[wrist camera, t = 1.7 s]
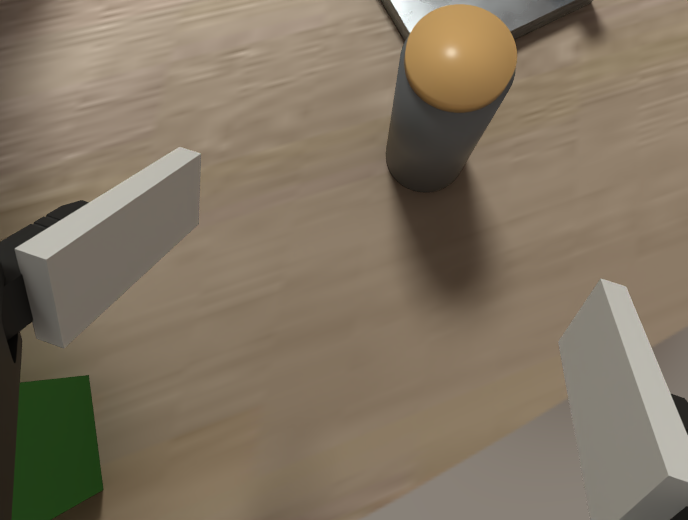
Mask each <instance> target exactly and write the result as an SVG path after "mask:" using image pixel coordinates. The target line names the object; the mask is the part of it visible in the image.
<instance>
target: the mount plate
mask: <svg viewBox="0 0 688 520" xmlns="http://www.w3.org/2000/svg"><path fill="white" fill-rule="evenodd" d="M381 1H382V3H383V5H384V6H385V8H386V10H387V11H388V13H389V15H390V17H391V18H392V20H393V22H394V23H395V25H396V27H397V28H398V30H399V32H400V34H401V35H402V37H403V39H404V40H405V41H406V39H407V37H408V36H409V34H410V33H411V31H412V29H413V28H414V26H415V25H416V24H417V22H418V21H419V20H420V19H421V18H422V17H424V16H425V15H426V14H428V13H429V12H431V11H433V10H435V9H438V8H440V7H443V6H447V5H454V4H465V5H472V6H477V7H480V8H483V9H485V10H487V11H489V12H491V13H492V14H494V15H495V16H497V17H498V18H499V19H500V20H501V21H502V22H503V23H504V24H505V25H506V26H507V27H508V29H509V30H510V32H511V34H512V36H513V38H514V39H516V38H518V37H520V36H522V35H525V34H527V33H529V32H531V31H533V30H535V29H537V28H539V27H541V26H543V25H545V24H547V23H550V22H552V21H554V20H556V19H558V18H560V17H562V16H564V15H566V14H568V13H570V12H572V11H574V10H577V9H579V8H581V7H583V6H585V5H587V4H589V3H591V2H592V1H593V0H381Z"/></svg>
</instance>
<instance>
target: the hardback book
mask: <svg viewBox="0 0 688 520" xmlns="http://www.w3.org/2000/svg"><path fill="white" fill-rule="evenodd" d="M102 490H103V483H102V476H101V468H100V460H99V452H98V444H97V436H96V429H95V421H94V413H93V405H92V397H91V389H90V382H89V375H86V376H77V377H68V378H58V379H49V380H40V381H31V382H22V383H20V386H19V403H18V419H17V436H16V453H15V469H14V486H13V503H12V519H11V520H51V519H53V518H54V517H56V516H58V515H60V514H61V513H63V512H65V511H67V510H69V509H70V508H72V507H74V506H76V505H77V504H79V503H81V502H83V501H84V500H86V499H88V498H90V497H91V496H93V495H95V494H97V493H98V492H100V491H102Z"/></svg>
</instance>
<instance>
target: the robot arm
mask: <svg viewBox="0 0 688 520" xmlns="http://www.w3.org/2000/svg"><path fill="white" fill-rule="evenodd" d="M200 167H201V153H198V152H194V151H191V150H188V149H185V148H182V147H178V148H177V149H175V150H174V151H172V152H170V153H169V154H167V155H165V156H164V157H162V158H161V159H159V160H157V161H156V162H154V163H153V164H151V165H149V166H148V167H146V168H144V169H143V170H141V171H140V172H138V173H136V174H135V175H133V176H131V177H130V178H128V179H127V180H125V181H123V182H122V183H120V184H118V185H117V186H115V187H114V188H112V189H110V190H109V191H107V192H105V193H104V194H102V195H101V196H99V197H97V198H96V199H94V200H93V201H91V202H86V201H83V200H81V201H77V202H74V203H70V204H67V205H63V206H61V207H59V208H57V209H56V210H54V211H52V212H50V213H49V214H47V216H46V217H42V218H40V219H39V220H37V221H35V222H34V224H30V225H28V226H27V227H25V228H23V229H21V230H20V231H18V232H16V233H15V234H13V235H11V236H9V237H8V238H6V239H4V240H3V241H1V242H0V520H11V519H12V503H13V486H14V469H15V453H16V436H17V419H18V403H19V386H20V369H21V353H22V338H21V334H20V331H21V330H22V329H23V328H24V327H26V326H27V325H28V324H29V323H31V322H33V326H34V331H35V335H36V338H37V339H39V340H42V341H45V342H48V343H50V344H53V345H56V346H59V347H61V348H65V347H66V346H67V345H68V344H69V343H70V342H72V341H73V340H74V339H75V338H76V337H77V336H78V335H79V334H80V333H81V332H82V331H83V330H85V329H86V328H87V327H88V326H89V325H90V324H91V323H92V322H93V321H94V320H95V319H96V318H98V317H99V316H100V315H101V314H102V313H103V312H104V311H105V310H106V309H107V308H108V307H109V306H111V305H112V304H113V303H114V302H115V301H116V300H117V299H118V298H119V297H120V296H121V295H122V294H124V293H125V292H126V291H127V290H128V289H129V288H130V287H131V286H132V285H133V284H134V283H135V282H137V281H138V280H139V279H140V278H141V277H142V276H143V275H144V274H145V273H146V272H147V271H148V270H150V269H151V268H152V267H153V266H154V265H155V264H156V263H157V262H158V261H159V260H160V259H161V258H163V257H164V256H165V255H166V254H167V253H168V252H169V251H170V250H171V249H172V248H173V247H174V246H175V245H177V244H178V243H179V242H180V241H181V240H182V239H183V238H184V237H185V236H186V235H187V234H188V233H190V232H191V231H192V230H193V229H194V228H195V227H196V226H197V225H198V224H199V199H200ZM558 343H559V349H560V354H561V360H562V366H563V371H564V377H565V382H566V388H567V393H568V399H569V405H570V410H571V416H572V421H573V427H574V432H575V438H576V444H577V449H578V454H579V460H580V466H581V471H582V477H583V482H584V488H585V494H586V499H587V505H588V510H589V516H590V520H688V402H687V401H686V400H685V398H682V397H679V396H676V395H673V394H670V392H669V389H668V387H667V384H666V382H665V379H664V377H663V375H662V372H661V370H660V367H659V365H658V363H657V360H656V358H655V355H654V353H653V350H652V348H651V346H650V343H649V341H648V338H647V336H646V334H645V331H644V329H643V326H642V324H641V322H640V319H639V317H638V314H637V312H636V309H635V307H634V305H633V302H632V300H631V297H630V295H629V293H628V290H627V288H626V286H623V285H620V284H617V283H613V282H610V281H607V280H604V279H600V280H599V282H598V283H597V285H596V286H595V288H594V289H593V291H592V292H591V294H590V295H589V297H588V298H587V300H586V301H585V303H584V304H583V306H582V307H581V309H580V310H579V312H578V313H577V315H576V316H575V318H574V319H573V321H572V322H571V324H570V325H569V327H568V328H567V330H566V331H565V333H564V334H563V336H562V337H561V339H560V340H559V342H558Z"/></svg>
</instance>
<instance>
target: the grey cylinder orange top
mask: <svg viewBox="0 0 688 520" xmlns="http://www.w3.org/2000/svg"><path fill="white" fill-rule="evenodd" d="M516 63H517V48H516V44H515V41H514V38H513V36H512V34H511V32H510V30H509V29H508V27H507V26H506V25H505V24H504V23H503V22H502V21H501V20H500V19H499V18H498V17H497V16H495V15H494V14H492V13H491V12H489V11H487V10H485V9H483V8H480V7H477V6H472V5H465V4H454V5H447V6H443V7H440V8H438V9H435V10H433V11H431V12H429V13H428V14H426V15H425V16H424V17H422V18H421V19H420V20H419V21H418V22H417V24H416V25H415V26H414V28H413V29H412V31H411V33H410V34H409V36H408V37H407V39H406V41H405V43H404V45H403V47H402V51H401V55H400V62H399V68H398V75H397V82H396V88H395V95H394V101H393V108H392V115H391V121H390V128H389V134H388V141H387V147H386V162H387V165H388V168H389V170H390V172H391V174H392V175H393V177H394V178H395V179H396V180H397V181H398V182H399V183H400V184H402V185H403V186H405V187H406V188H408V189H411V190H414V191H418V192H433V191H437V190H440V189H443V188H445V187H446V186H448V185H449V184H451V183H452V182H453V181H454V180H455V179H456V178H457V176H458V175H459V173H460V171H461V170H462V168H463V166H464V165H465V163H466V161H467V160H468V158H469V156H470V155H471V153H472V151H473V150H474V148H475V146H476V145H477V143H478V141H479V140H480V138H481V136H482V135H483V133H484V131H485V129H486V128H487V126H488V124H489V123H490V121H491V119H492V118H493V116H494V114H495V113H496V111H497V109H498V108H499V106H500V104H501V103H502V101H503V99H504V98H505V96H506V94H507V93H508V91H509V89H510V87H511V85H512V83H513V80H514V76H515V69H516Z"/></svg>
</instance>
